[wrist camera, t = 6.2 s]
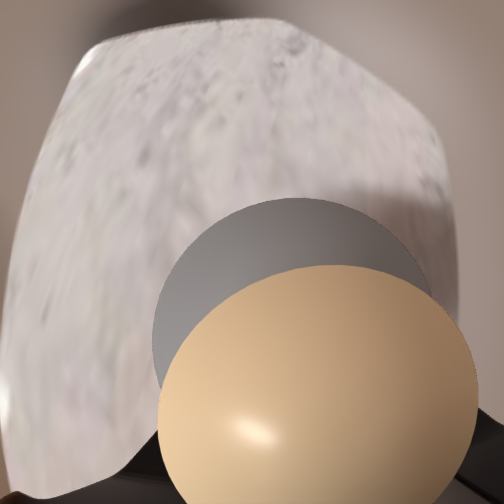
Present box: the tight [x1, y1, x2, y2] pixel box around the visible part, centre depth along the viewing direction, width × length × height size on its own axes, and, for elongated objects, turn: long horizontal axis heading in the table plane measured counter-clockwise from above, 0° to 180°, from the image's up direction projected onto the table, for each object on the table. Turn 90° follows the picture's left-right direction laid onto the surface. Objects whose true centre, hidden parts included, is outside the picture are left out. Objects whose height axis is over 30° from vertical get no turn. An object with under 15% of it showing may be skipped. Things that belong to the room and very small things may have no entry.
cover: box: [152, 198, 478, 504], centre depth 9 cm, size 14×14×13 cm
